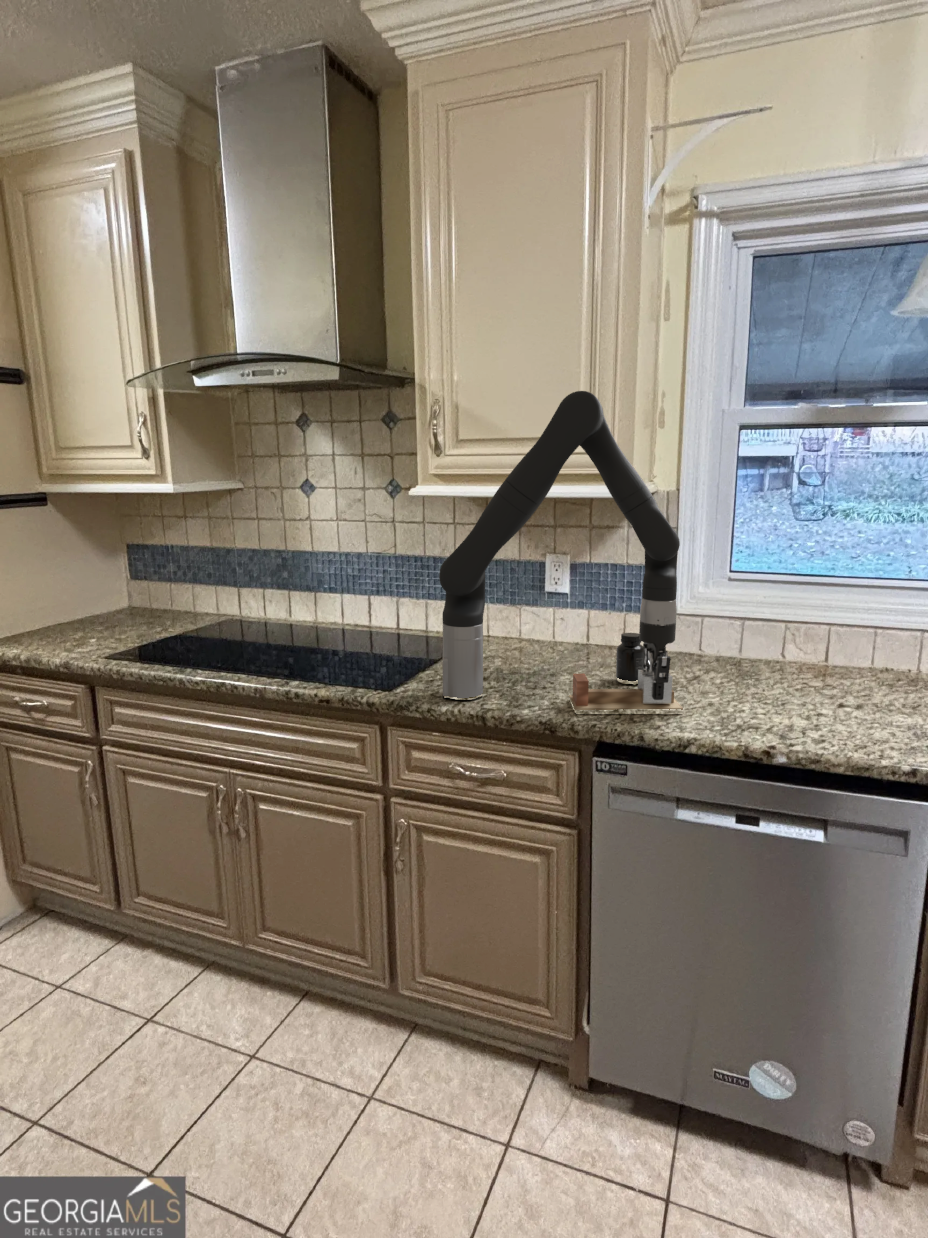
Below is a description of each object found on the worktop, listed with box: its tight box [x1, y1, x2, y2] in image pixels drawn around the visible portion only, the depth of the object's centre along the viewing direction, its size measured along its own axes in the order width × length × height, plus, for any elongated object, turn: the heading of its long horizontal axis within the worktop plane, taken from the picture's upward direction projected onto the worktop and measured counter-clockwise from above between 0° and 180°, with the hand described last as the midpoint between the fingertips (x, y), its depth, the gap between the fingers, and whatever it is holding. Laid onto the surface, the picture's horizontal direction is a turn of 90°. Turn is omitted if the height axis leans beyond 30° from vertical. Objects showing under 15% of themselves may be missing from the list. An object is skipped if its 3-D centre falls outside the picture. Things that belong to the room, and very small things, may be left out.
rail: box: [568, 673, 684, 711], centre depth 159 cm, size 23×9×7 cm, turn 90°
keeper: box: [637, 670, 673, 704], centre depth 159 cm, size 6×6×6 cm
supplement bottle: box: [615, 632, 645, 681], centre depth 178 cm, size 7×7×12 cm
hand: (654, 694), depth 159 cm, fingers closed on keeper, 5 cm apart
